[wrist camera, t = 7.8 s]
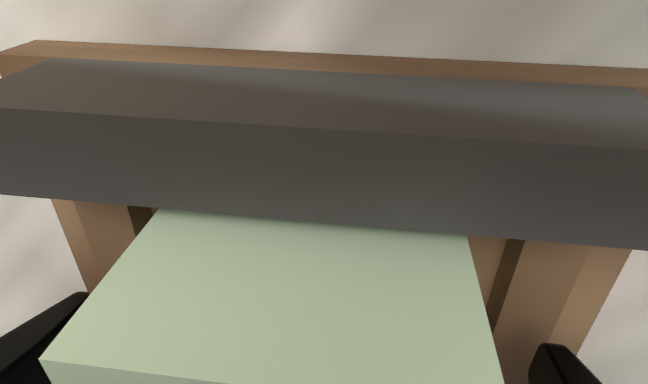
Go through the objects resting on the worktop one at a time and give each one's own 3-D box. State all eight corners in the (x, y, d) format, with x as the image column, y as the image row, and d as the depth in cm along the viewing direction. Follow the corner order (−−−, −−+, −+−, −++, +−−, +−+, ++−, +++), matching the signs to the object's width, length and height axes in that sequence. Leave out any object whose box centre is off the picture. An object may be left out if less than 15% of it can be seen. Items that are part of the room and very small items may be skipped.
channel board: (498, 451, 15) (526, 583, 12) (160, 405, 17) (108, 514, 14) (674, 69, 8) (859, 164, 5) (35, 40, 9) (-144, 98, 6)
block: (410, 361, 12) (425, 610, 7) (233, 339, 12) (151, 563, 8) (449, 169, 8) (514, 420, 4) (204, 151, 9) (38, 359, 5)
